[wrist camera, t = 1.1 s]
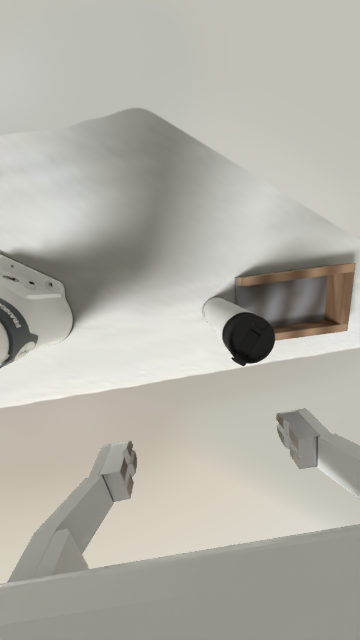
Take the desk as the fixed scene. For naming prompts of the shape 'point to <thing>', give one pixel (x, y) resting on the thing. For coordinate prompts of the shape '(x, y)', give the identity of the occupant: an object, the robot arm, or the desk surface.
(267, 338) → the travel mug
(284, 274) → the u rest
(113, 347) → the desk surface
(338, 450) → the robot arm
